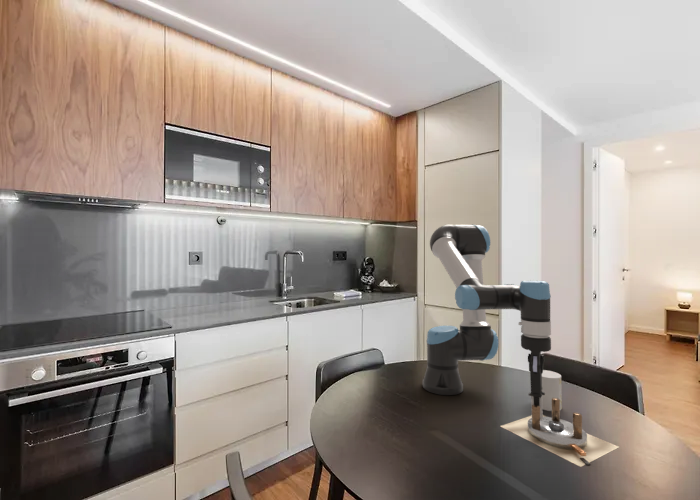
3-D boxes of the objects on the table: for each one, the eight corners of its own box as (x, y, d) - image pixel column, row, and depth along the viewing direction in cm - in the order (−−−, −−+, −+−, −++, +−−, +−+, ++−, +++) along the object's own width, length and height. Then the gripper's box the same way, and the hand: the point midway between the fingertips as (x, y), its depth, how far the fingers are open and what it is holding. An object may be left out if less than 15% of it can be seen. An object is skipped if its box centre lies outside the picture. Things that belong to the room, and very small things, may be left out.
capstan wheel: (554, 458, 83) (554, 426, 83) (518, 422, 101) (518, 395, 101) (612, 458, 83) (612, 426, 83) (565, 422, 101) (565, 396, 101)
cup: (566, 417, 109) (565, 379, 109) (538, 414, 110) (537, 377, 111) (556, 406, 117) (555, 370, 117) (530, 404, 118) (529, 369, 119)
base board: (499, 431, 99) (499, 425, 99) (538, 417, 108) (538, 412, 108) (583, 474, 79) (583, 467, 80) (622, 454, 88) (622, 447, 88)
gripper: (522, 329, 105) (524, 407, 104) (518, 338, 94) (520, 424, 93) (551, 332, 101) (552, 412, 100) (550, 341, 90) (552, 432, 89)
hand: (537, 418), depth 97 cm, fingers closed
